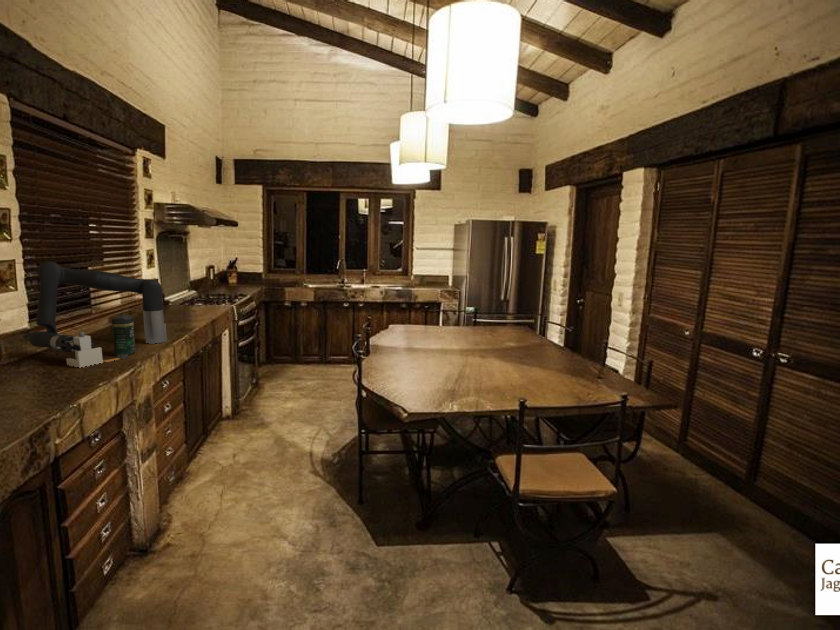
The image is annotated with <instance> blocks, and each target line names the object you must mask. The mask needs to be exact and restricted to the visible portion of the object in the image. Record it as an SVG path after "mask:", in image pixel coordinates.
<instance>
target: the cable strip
mask: <svg viewBox="0 0 840 630" xmlns="http://www.w3.org/2000/svg"><path fill="white" fill-rule="evenodd" d="M114 360H115V361H119V360H122V359H121V358H118V357H116V358H111V359H103V363H110V362H114Z"/></svg>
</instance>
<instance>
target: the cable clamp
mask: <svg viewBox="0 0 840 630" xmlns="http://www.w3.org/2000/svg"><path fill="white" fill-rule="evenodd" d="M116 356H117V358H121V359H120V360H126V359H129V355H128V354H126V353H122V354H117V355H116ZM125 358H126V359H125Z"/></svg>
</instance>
